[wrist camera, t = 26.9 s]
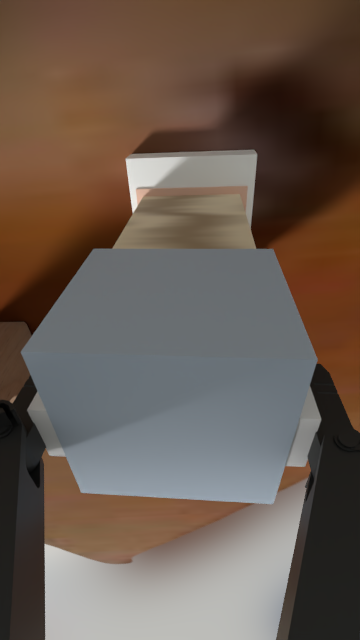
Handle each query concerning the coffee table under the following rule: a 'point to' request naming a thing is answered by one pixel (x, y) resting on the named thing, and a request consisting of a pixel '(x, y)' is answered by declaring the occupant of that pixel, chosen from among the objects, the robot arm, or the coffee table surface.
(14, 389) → the wooden block
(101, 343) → the slate block
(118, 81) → the coffee table surface
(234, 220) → the beige box
